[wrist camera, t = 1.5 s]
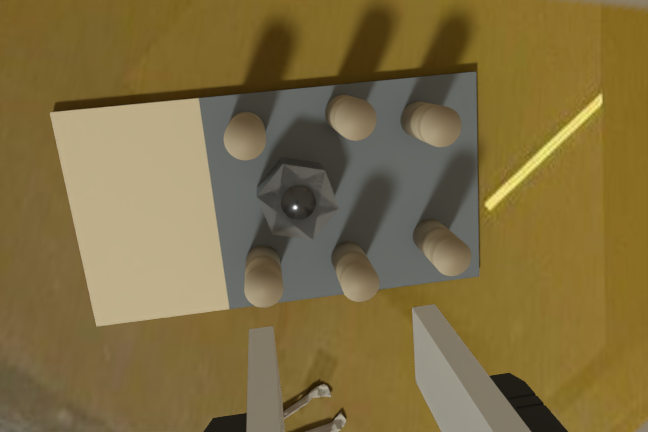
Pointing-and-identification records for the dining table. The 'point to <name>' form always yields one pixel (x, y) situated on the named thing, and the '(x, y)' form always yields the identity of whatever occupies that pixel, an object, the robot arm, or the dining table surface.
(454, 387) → the robot arm
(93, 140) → the mat
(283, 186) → the nut
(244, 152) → the pegs
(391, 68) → the dining table surface
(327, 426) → the metal tweezers
